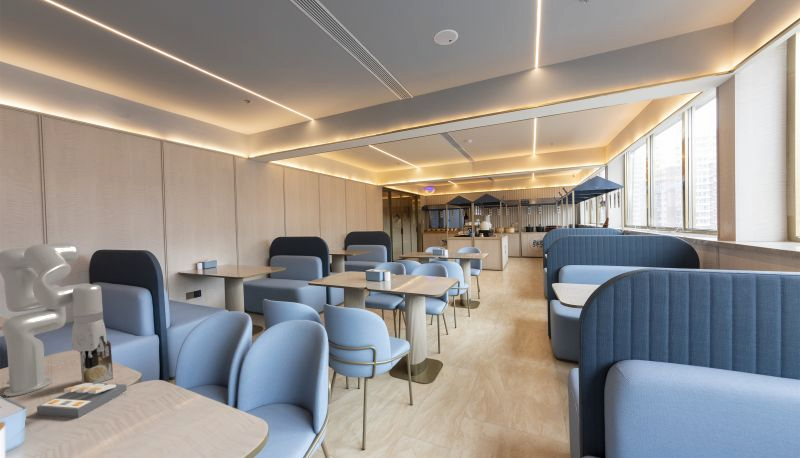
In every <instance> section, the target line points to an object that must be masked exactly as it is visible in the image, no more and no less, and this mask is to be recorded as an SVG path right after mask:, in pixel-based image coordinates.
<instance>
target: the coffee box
mask: <svg viewBox="0 0 800 458" xmlns="http://www.w3.org/2000/svg"><path fill="white" fill-rule="evenodd" d="M104 349H105V350H104V351H101V352H99V355H98V362H99V364H98V365H97V366H95V367H93V368H90V369H86V368H85V358H83V354H82V353H81V352H79V357H80V370H81V384H84V383H104V382H105V381H108V380H112V379H113V378H114V371H113V368H114V367H113V355H112V345H111V341H110V340H108V339H107V344H106V345H105V346H104Z"/></svg>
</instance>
